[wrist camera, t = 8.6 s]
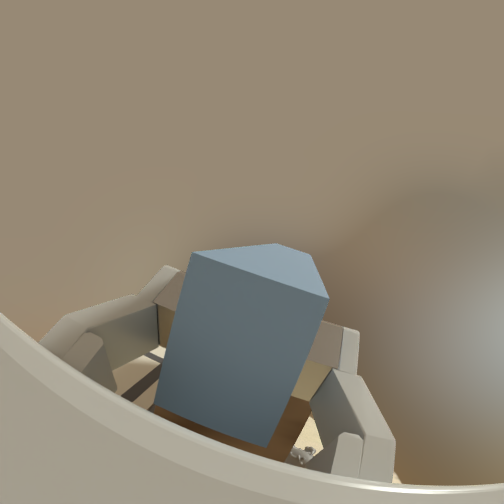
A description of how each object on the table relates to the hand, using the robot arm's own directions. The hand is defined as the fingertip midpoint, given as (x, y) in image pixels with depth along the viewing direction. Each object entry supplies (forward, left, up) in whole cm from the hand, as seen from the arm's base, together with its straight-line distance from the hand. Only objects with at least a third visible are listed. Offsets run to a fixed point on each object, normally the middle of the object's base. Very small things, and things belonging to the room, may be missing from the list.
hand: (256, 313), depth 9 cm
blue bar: (0, -7, -2) cm, 8 cm away
